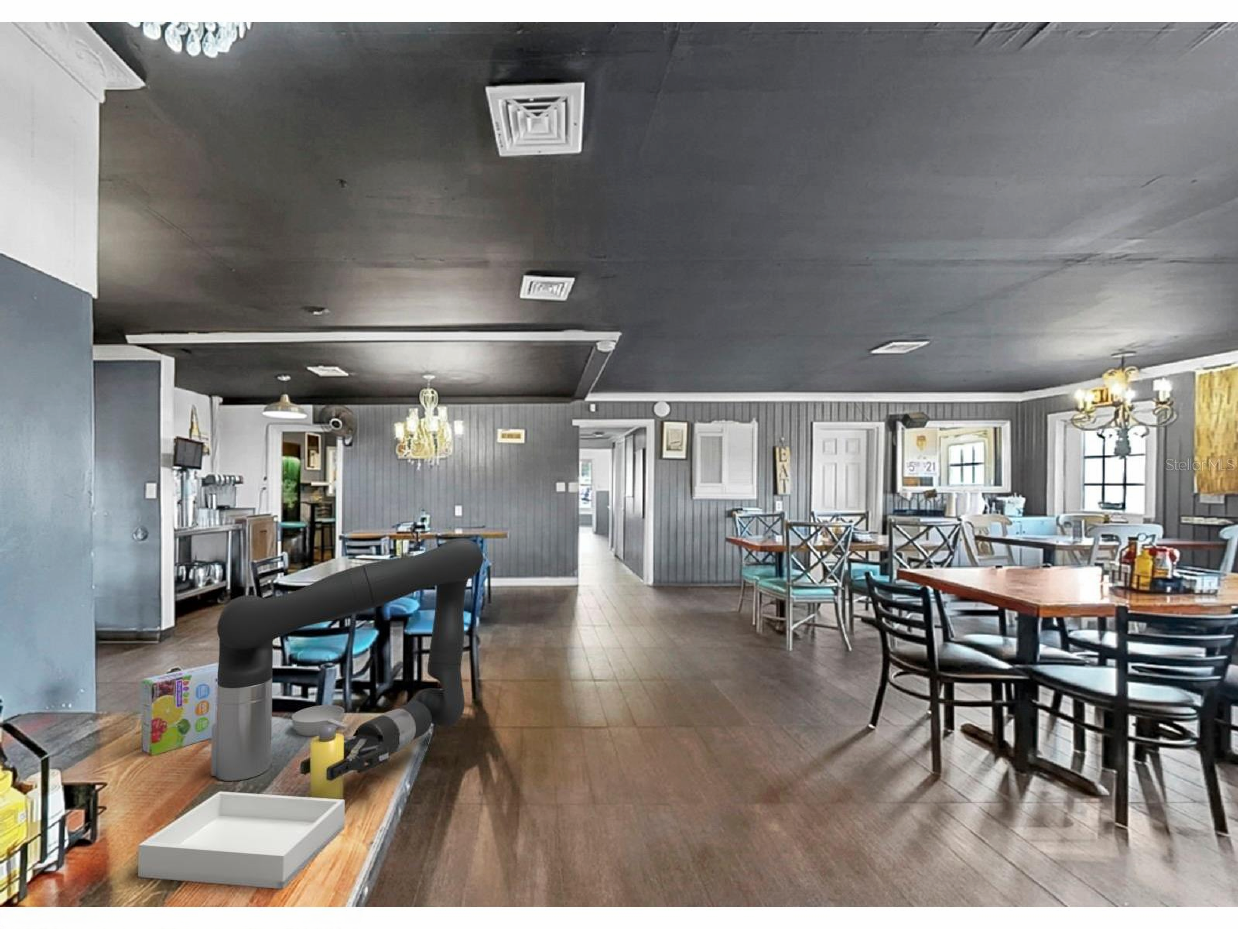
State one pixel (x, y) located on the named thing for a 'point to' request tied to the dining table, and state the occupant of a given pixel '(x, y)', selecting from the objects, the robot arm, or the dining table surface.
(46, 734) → the dining table surface
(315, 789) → the squeeze bottle
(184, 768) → the dining table surface
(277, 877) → the tray
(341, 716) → the small pan
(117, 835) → the dining table surface
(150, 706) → the snack box
